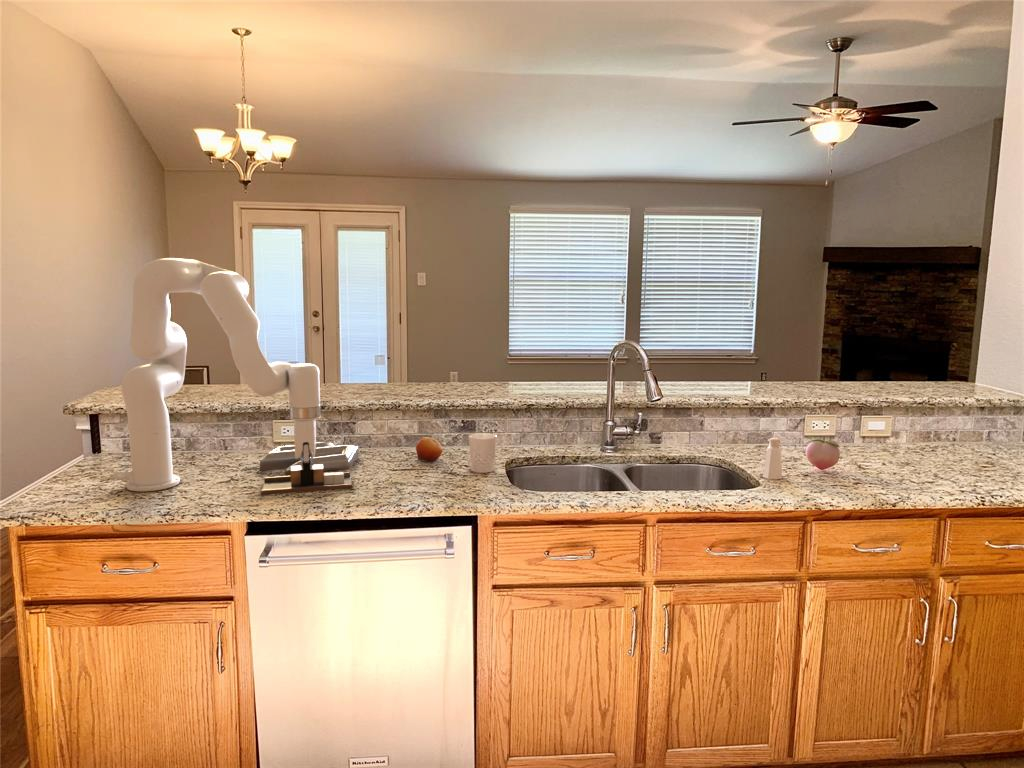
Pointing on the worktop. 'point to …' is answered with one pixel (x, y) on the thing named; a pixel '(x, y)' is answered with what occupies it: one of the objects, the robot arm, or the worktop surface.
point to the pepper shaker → (773, 460)
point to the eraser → (297, 476)
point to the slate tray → (284, 486)
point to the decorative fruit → (822, 453)
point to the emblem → (324, 454)
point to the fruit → (428, 449)
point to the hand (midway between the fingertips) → (307, 481)
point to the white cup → (482, 452)
